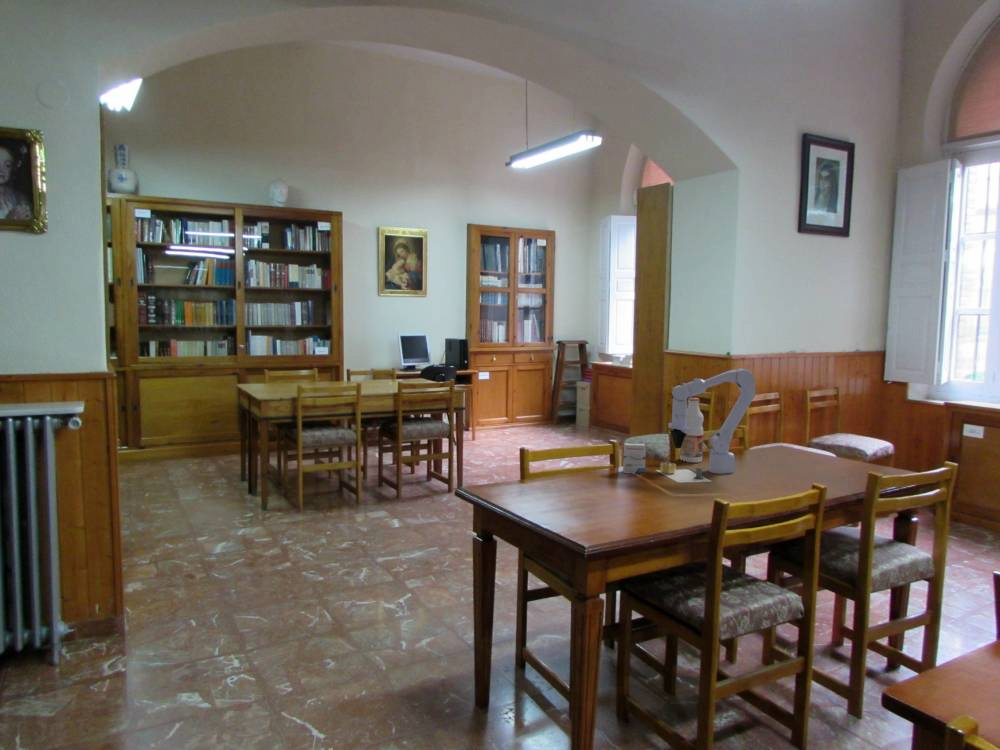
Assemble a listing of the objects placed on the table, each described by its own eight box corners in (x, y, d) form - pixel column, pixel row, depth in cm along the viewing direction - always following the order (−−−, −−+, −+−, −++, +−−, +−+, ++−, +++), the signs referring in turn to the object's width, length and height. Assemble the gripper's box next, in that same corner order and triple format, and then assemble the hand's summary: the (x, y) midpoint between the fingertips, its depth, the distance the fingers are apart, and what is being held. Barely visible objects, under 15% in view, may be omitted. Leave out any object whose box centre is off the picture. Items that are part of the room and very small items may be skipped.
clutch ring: (671, 469, 269) (671, 462, 269) (677, 472, 264) (678, 465, 263) (658, 470, 268) (658, 462, 268) (664, 473, 263) (664, 465, 262)
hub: (670, 471, 269) (671, 460, 268) (676, 474, 264) (676, 463, 264) (659, 471, 268) (660, 460, 267) (665, 474, 263) (665, 463, 263)
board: (687, 471, 273) (687, 459, 273) (712, 483, 254) (712, 471, 253) (655, 472, 270) (656, 460, 270) (678, 485, 251) (678, 472, 250)
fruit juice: (677, 458, 300) (680, 396, 297) (698, 458, 300) (701, 397, 297) (682, 462, 291) (685, 399, 288) (704, 463, 290) (707, 399, 288)
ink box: (643, 471, 272) (644, 443, 271) (645, 474, 267) (646, 445, 266) (622, 471, 272) (623, 442, 271) (623, 473, 267) (624, 444, 266)
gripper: (662, 412, 277) (660, 444, 278) (679, 418, 263) (677, 451, 264) (677, 412, 279) (676, 444, 280) (695, 417, 265) (693, 451, 266)
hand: (677, 448), depth 272 cm, fingers closed
